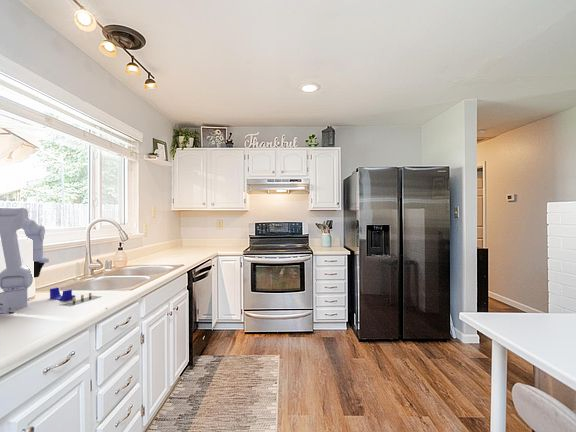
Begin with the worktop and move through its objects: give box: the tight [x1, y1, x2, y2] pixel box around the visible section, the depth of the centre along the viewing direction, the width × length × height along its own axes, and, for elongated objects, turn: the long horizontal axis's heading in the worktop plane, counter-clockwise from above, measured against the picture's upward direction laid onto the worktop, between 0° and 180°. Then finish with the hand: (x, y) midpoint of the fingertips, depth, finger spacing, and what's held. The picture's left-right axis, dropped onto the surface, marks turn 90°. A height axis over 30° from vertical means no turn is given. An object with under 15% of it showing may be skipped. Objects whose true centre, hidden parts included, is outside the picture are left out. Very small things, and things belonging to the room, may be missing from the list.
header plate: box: [59, 295, 102, 307], centre depth 140 cm, size 16×7×1 cm, turn 164°
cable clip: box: [49, 287, 76, 302], centre depth 144 cm, size 12×4×6 cm, turn 64°
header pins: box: [72, 292, 92, 303], centre depth 140 cm, size 9×1×3 cm, turn 164°
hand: (35, 277), depth 149 cm, fingers closed
